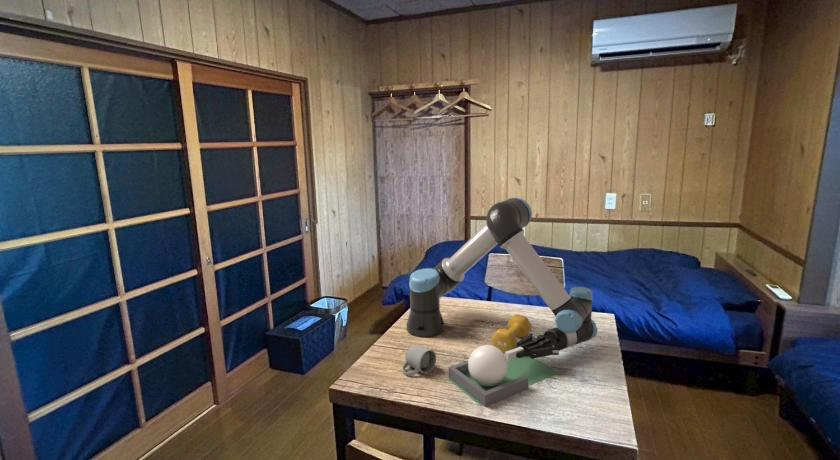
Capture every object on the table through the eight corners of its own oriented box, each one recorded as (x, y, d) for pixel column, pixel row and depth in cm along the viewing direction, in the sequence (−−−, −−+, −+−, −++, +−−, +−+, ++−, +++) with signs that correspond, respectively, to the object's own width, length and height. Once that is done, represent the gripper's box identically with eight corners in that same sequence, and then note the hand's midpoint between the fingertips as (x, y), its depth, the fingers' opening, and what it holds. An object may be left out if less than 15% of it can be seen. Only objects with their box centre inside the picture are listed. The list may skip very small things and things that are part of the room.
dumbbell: (513, 357, 147) (514, 335, 145) (489, 351, 152) (489, 329, 150) (533, 336, 162) (533, 316, 161) (510, 331, 167) (511, 311, 166)
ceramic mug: (420, 359, 147) (419, 339, 145) (437, 368, 141) (436, 347, 140) (396, 372, 140) (395, 350, 138) (413, 381, 134) (412, 359, 132)
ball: (495, 344, 139) (479, 378, 138) (471, 334, 132) (454, 369, 131) (522, 360, 129) (505, 397, 128) (497, 350, 122) (479, 389, 121)
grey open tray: (448, 377, 135) (448, 367, 134) (489, 362, 143) (489, 353, 143) (484, 406, 120) (484, 395, 119) (528, 388, 128) (528, 377, 127)
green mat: (448, 380, 134) (448, 379, 134) (524, 353, 150) (524, 352, 150) (480, 406, 120) (480, 405, 120) (559, 373, 136) (559, 372, 136)
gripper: (545, 321, 150) (493, 337, 139) (575, 335, 139) (521, 354, 128) (544, 340, 152) (493, 358, 141) (574, 356, 141) (520, 377, 129)
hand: (506, 356), depth 134 cm, fingers closed
